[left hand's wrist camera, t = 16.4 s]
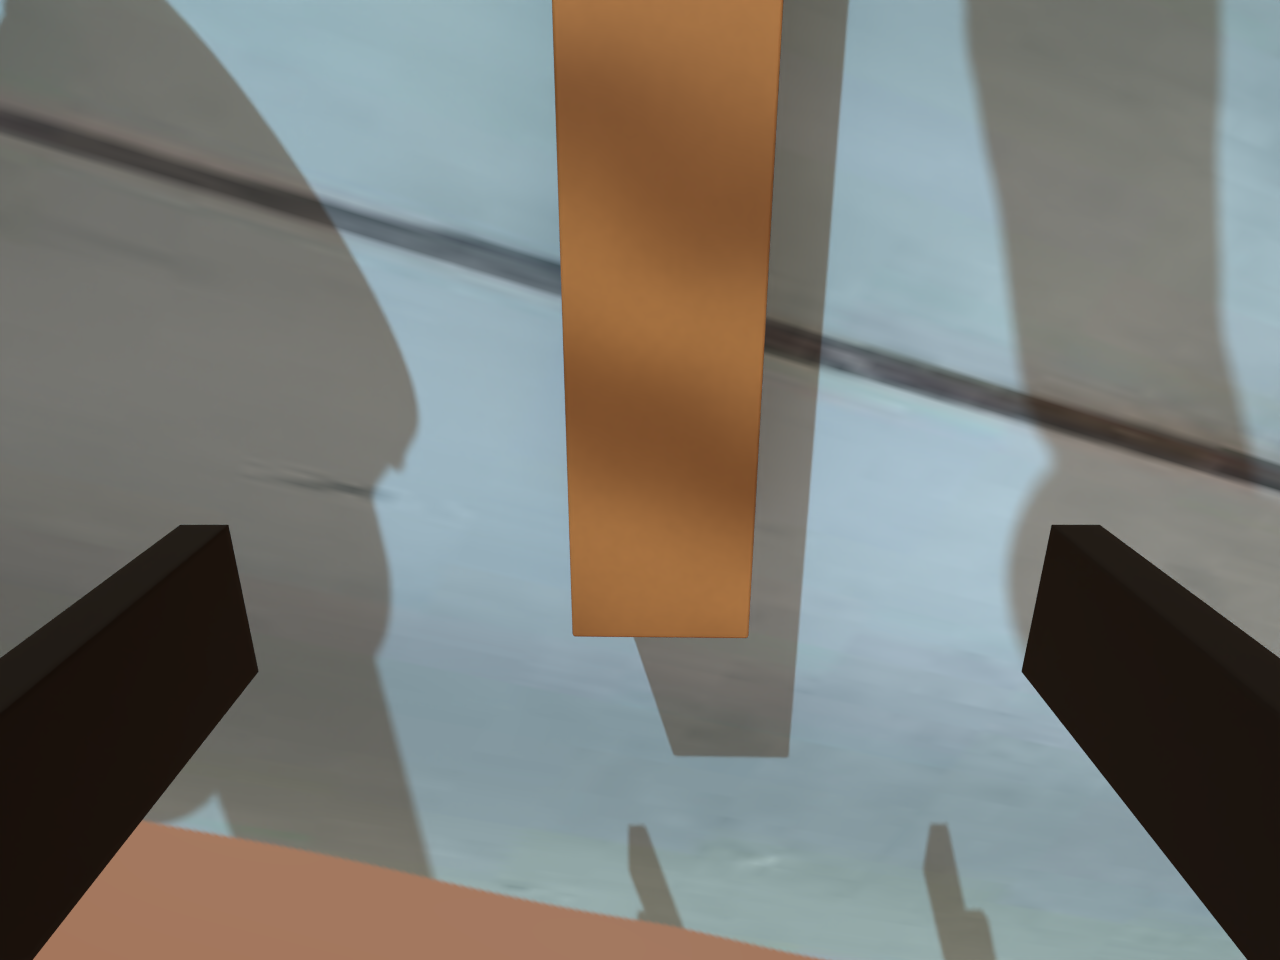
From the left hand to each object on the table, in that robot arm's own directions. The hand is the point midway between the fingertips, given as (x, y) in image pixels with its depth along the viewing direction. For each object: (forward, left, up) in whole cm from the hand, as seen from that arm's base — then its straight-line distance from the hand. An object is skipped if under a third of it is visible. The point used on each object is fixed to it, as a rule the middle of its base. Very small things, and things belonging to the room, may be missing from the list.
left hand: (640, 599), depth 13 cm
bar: (+24, +17, -16) cm, 34 cm away
